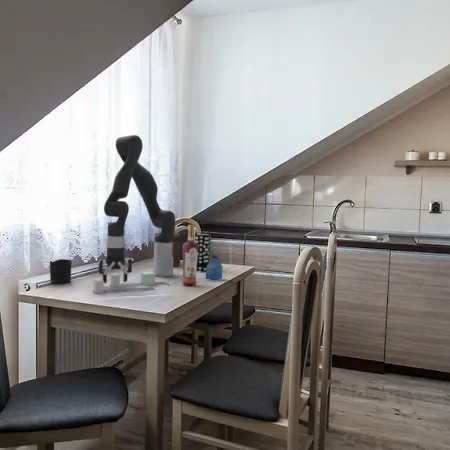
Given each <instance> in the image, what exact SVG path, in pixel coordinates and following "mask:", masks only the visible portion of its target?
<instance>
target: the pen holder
mask: <svg viewBox="0 0 450 450" xmlns="http://www.w3.org/2000/svg"><path fill="white" fill-rule="evenodd" d="M72 264H73V261H72V259H65V258H62V259H61V258H60V259H56V260H55V261H54V260H53V261H52V260H49V274H50V275H49V277H50V283H51V284H52V285H67V284H69V283H71V279H72V278H71V277H72Z"/></svg>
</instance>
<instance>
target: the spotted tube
mask: <svg viewBox="0 0 450 450" xmlns="http://www.w3.org/2000/svg"><path fill="white" fill-rule="evenodd" d="M211 235H212V234H210V233H195V235H194V236H195V238H194V239H195V240H194V242H195V243H197V244H198V258H197V269H196V271H199V272H198V273H206V266H207V265H208V263H209V262H211V243H212V241H211V239H212V237H211Z"/></svg>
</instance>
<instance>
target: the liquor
mask: <svg viewBox="0 0 450 450" xmlns="http://www.w3.org/2000/svg"><path fill="white" fill-rule="evenodd" d="M187 227H188V234H187V235H188V236H187V240H186V241H187V242H184V243H183V244H182V281H181V284H183V285H184V286H185V285H186V286H185V287H194V286H195V285H196V284H197V272H196V269H197V258H198V244H197V243H195V240H194V239H195V238H194V236H195V235H194V232H195V231H194V229H195V225H194V224H188V225H187ZM193 285H194V286H193Z"/></svg>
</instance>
